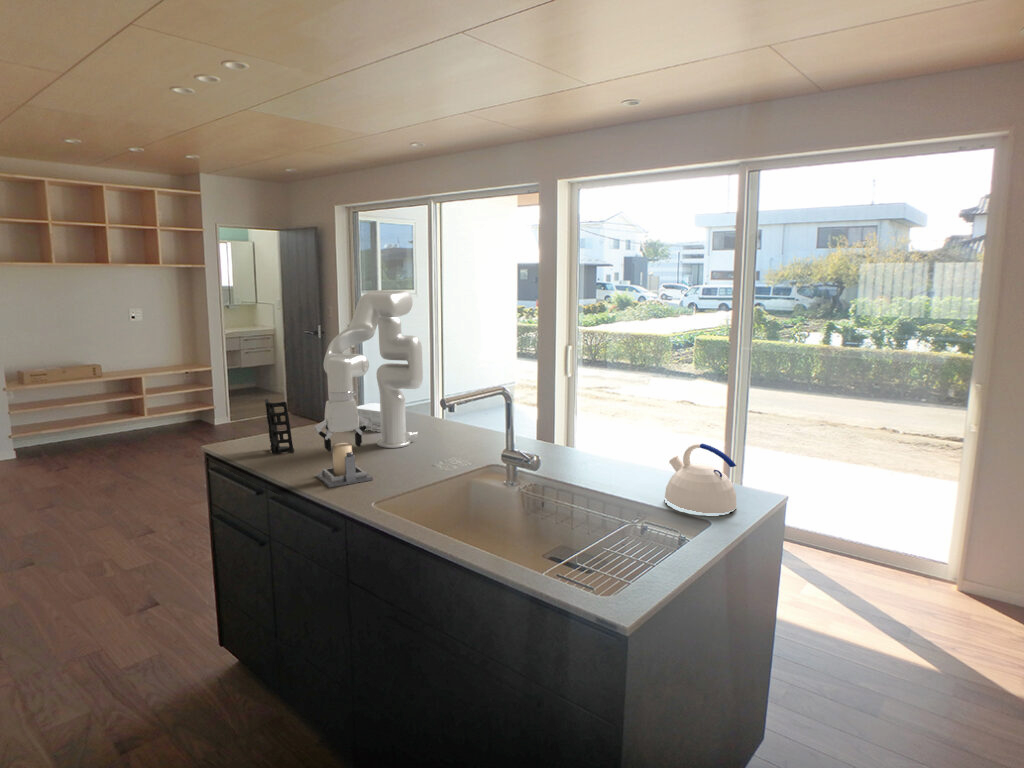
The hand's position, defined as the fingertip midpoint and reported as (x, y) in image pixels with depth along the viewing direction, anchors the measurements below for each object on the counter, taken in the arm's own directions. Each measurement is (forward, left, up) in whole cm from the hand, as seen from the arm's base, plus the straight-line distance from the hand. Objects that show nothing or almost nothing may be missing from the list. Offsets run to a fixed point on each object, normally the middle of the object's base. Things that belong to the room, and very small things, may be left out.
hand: (343, 448), depth 206 cm
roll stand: (0, 0, -10) cm, 10 cm away
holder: (+10, -43, -10) cm, 45 cm away
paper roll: (+1, 0, -9) cm, 9 cm away
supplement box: (-35, -61, -10) cm, 71 cm away
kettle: (-79, +78, -10) cm, 112 cm away
